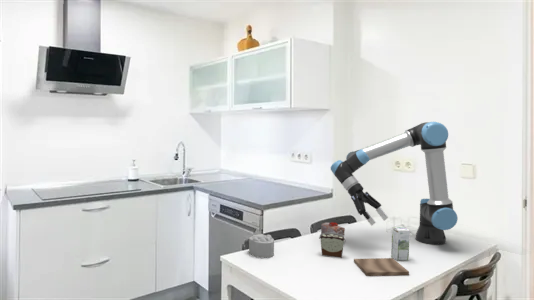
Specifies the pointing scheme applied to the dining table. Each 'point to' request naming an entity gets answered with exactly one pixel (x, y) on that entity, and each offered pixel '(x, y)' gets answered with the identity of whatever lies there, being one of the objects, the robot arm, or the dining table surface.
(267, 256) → the lumpy-topped squat cylinder
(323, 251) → the food container
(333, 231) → the food item
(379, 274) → the walnut board
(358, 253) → the dining table surface
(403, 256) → the syrup box
